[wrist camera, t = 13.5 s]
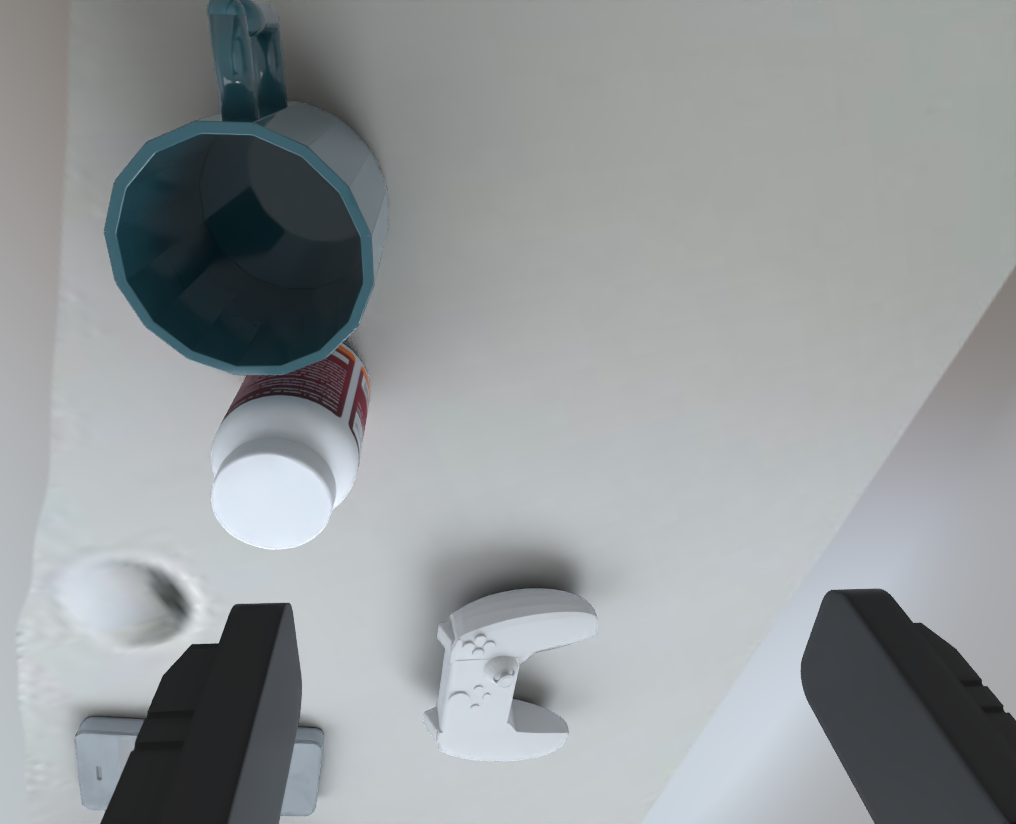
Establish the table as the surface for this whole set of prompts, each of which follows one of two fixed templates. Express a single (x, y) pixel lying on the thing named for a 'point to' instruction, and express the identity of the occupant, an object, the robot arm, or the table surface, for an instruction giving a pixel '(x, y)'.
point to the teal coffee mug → (250, 216)
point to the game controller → (502, 673)
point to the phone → (114, 738)
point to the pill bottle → (290, 451)
